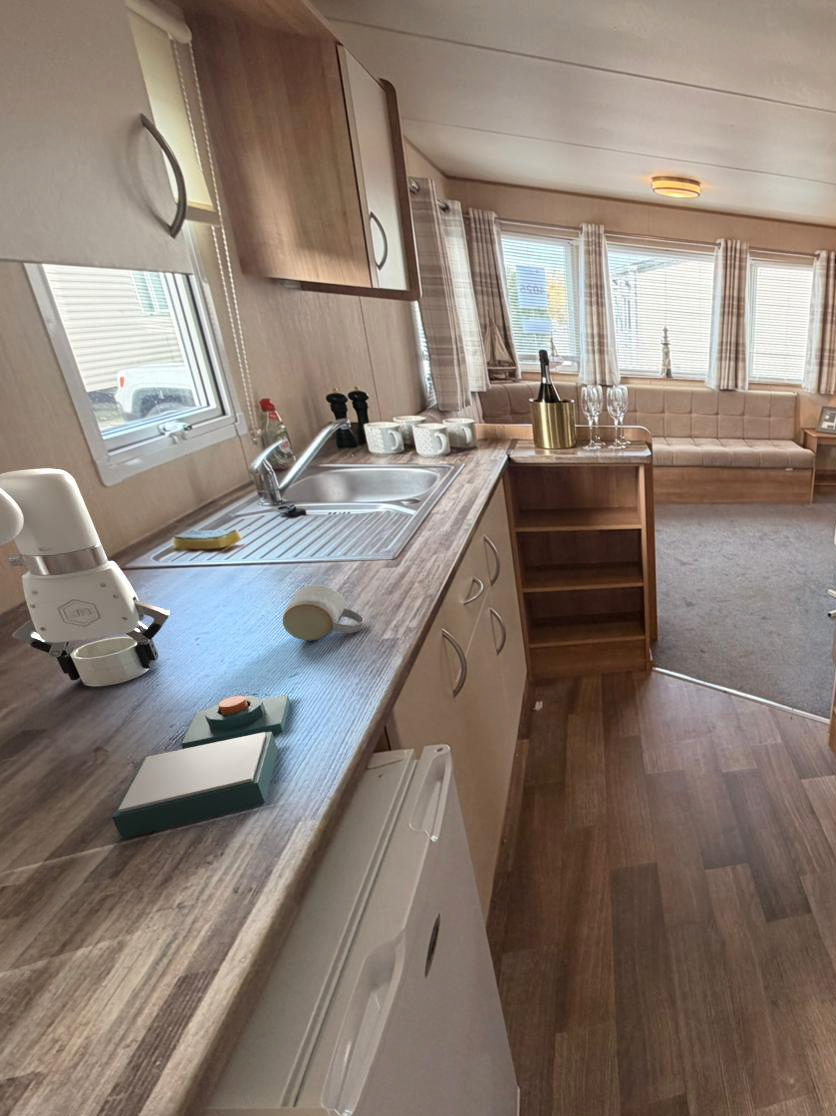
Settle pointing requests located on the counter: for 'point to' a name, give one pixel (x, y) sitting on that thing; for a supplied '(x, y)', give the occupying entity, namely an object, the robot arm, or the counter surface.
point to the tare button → (232, 705)
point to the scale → (197, 784)
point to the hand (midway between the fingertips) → (115, 669)
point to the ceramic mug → (318, 613)
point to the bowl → (108, 661)
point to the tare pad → (237, 721)
